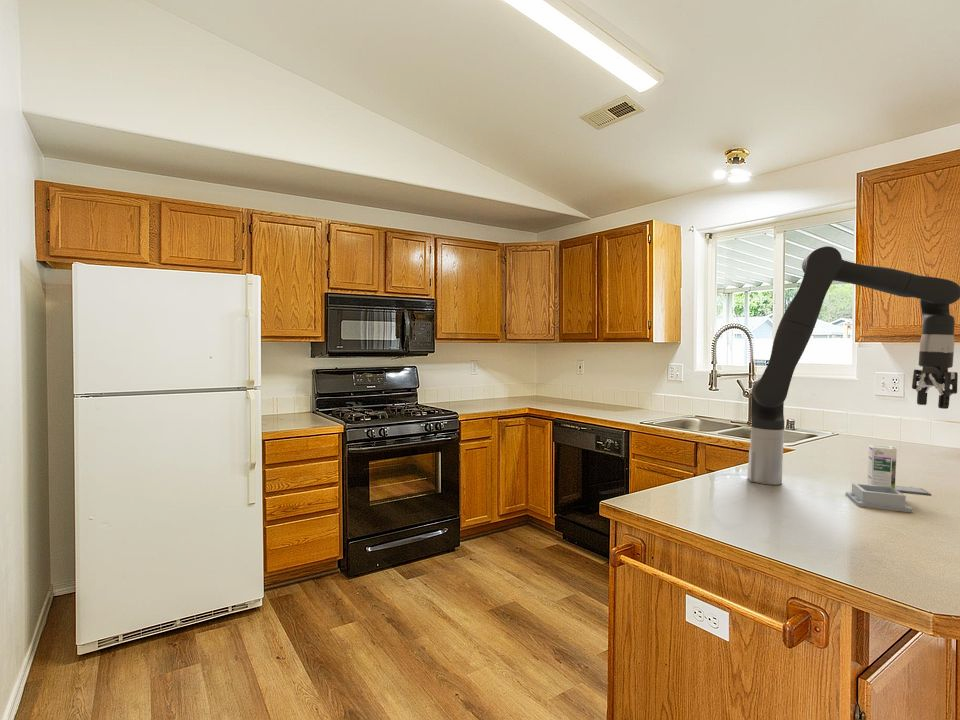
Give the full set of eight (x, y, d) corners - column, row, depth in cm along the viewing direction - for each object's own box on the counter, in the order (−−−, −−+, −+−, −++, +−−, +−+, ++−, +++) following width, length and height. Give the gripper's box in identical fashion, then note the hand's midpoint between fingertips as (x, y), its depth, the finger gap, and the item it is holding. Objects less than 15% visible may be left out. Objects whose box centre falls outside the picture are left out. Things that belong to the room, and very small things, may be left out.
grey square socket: (858, 506, 144) (858, 491, 144) (845, 495, 155) (846, 481, 155) (912, 512, 139) (913, 497, 139) (895, 500, 151) (895, 486, 151)
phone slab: (931, 497, 157) (931, 493, 157) (878, 491, 162) (878, 488, 162) (921, 491, 164) (921, 487, 163) (871, 486, 168) (871, 483, 168)
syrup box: (870, 495, 155) (872, 446, 154) (866, 491, 160) (869, 443, 160) (894, 499, 152) (897, 448, 152) (890, 494, 157) (892, 445, 157)
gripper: (905, 349, 160) (901, 403, 161) (940, 350, 146) (936, 409, 146) (932, 350, 159) (928, 404, 160) (970, 351, 145) (965, 410, 146)
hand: (932, 406), depth 153 cm, fingers open, 8 cm apart
